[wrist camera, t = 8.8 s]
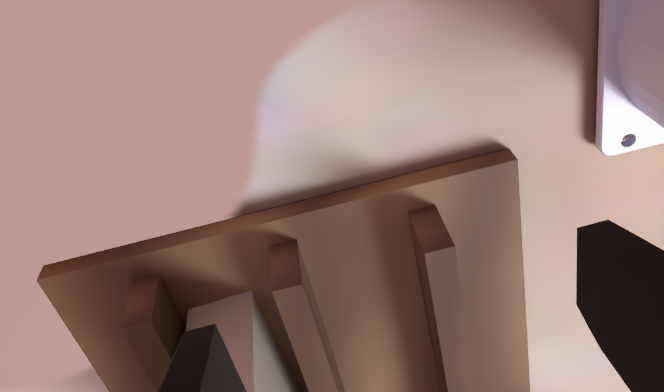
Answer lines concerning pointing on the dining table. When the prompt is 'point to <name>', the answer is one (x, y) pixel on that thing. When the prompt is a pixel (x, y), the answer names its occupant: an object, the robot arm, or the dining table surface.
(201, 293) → the rack
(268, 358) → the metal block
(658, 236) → the dining table surface
